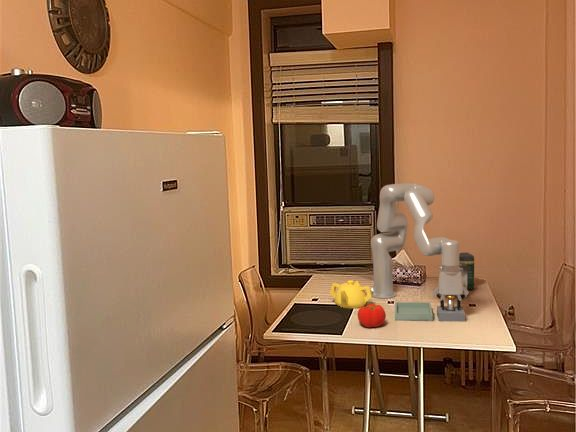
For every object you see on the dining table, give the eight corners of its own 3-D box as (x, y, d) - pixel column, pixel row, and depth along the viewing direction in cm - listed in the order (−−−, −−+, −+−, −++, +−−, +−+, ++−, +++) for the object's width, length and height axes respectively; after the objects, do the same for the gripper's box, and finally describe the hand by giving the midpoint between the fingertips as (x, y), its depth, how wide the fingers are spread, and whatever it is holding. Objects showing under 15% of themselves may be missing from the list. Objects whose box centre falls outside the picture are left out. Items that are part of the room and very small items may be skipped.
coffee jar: (475, 290, 310) (475, 254, 308) (460, 290, 311) (460, 255, 308) (471, 285, 319) (471, 251, 317) (456, 286, 320) (456, 251, 318)
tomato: (366, 319, 268) (366, 300, 267) (391, 324, 260) (391, 304, 259) (350, 326, 258) (350, 307, 257) (375, 331, 250) (375, 311, 249)
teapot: (328, 302, 298) (327, 278, 296) (359, 298, 303) (359, 275, 301) (342, 311, 282) (341, 286, 280) (374, 307, 287) (374, 282, 285)
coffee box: (448, 297, 298) (448, 265, 296) (446, 294, 304) (446, 263, 302) (467, 297, 297) (467, 265, 295) (465, 294, 303) (465, 262, 301)
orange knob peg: (445, 319, 264) (445, 296, 262) (445, 316, 268) (444, 293, 267) (456, 319, 263) (456, 296, 262) (455, 316, 267) (455, 293, 266)
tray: (394, 320, 264) (394, 313, 264) (395, 308, 283) (395, 302, 283) (432, 321, 262) (432, 314, 261) (430, 308, 280) (430, 302, 280)
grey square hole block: (438, 321, 261) (438, 313, 261) (437, 313, 272) (436, 306, 271) (465, 321, 259) (464, 313, 259) (462, 314, 270) (462, 306, 269)
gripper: (430, 270, 261) (430, 311, 263) (472, 270, 258) (472, 311, 260) (429, 266, 268) (429, 306, 270) (470, 266, 265) (470, 306, 267)
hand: (450, 308), depth 265 cm, fingers open, 5 cm apart
